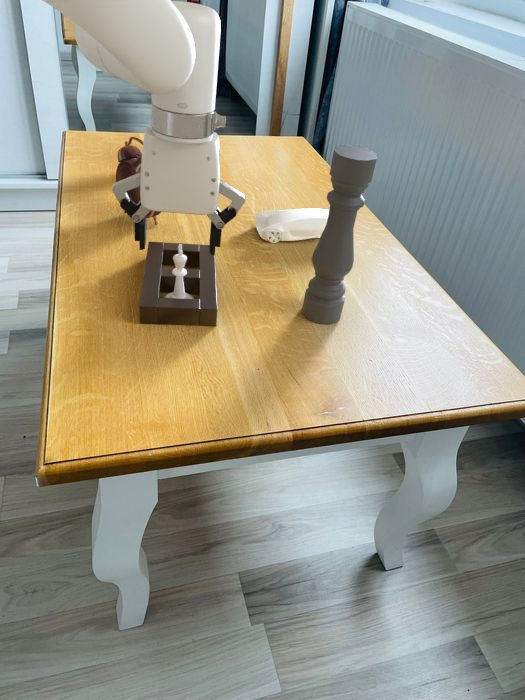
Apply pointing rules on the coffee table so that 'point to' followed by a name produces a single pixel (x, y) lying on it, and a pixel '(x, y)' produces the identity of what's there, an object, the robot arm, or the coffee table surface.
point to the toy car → (291, 224)
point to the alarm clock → (132, 170)
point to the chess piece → (179, 276)
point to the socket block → (164, 282)
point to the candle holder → (338, 233)
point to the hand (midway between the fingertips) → (177, 248)
